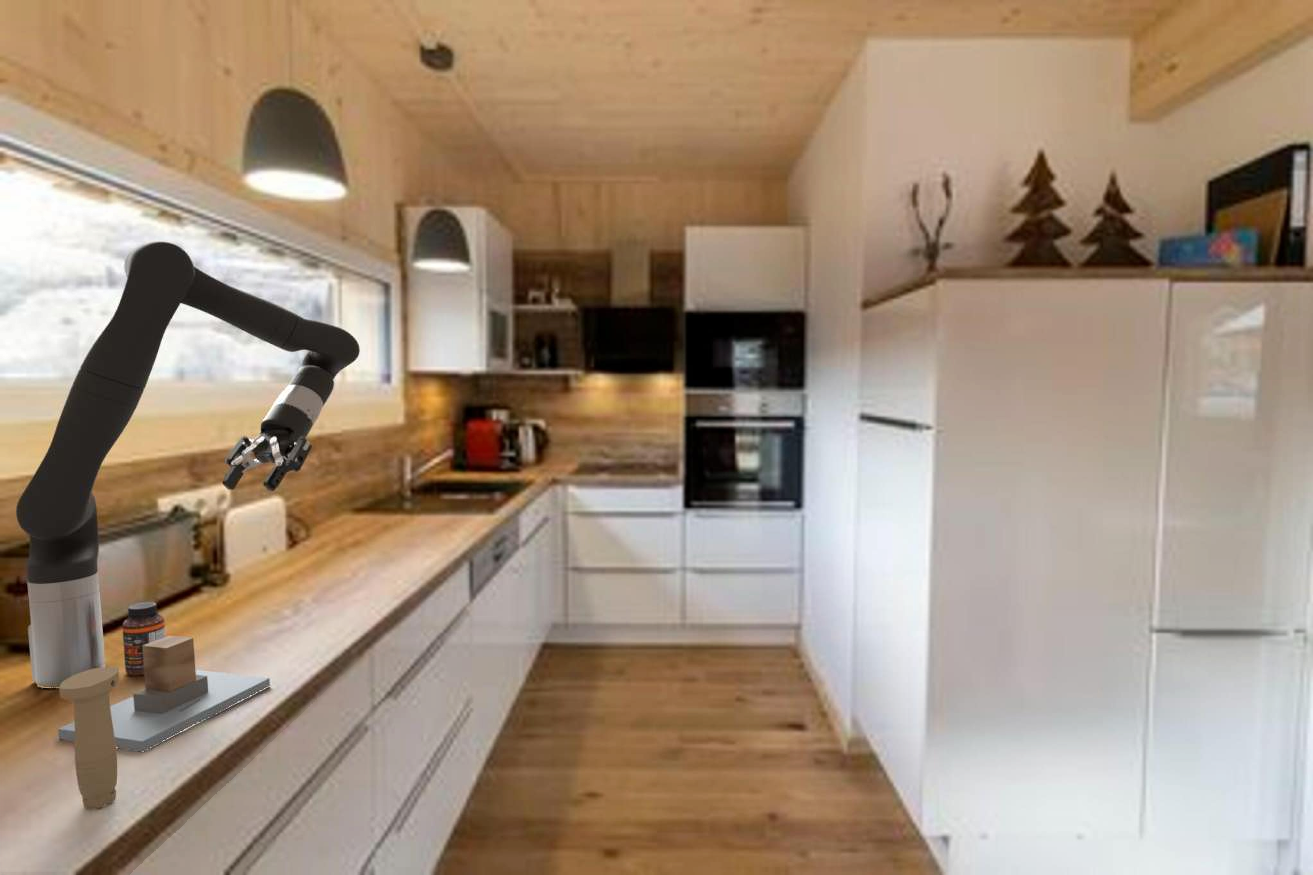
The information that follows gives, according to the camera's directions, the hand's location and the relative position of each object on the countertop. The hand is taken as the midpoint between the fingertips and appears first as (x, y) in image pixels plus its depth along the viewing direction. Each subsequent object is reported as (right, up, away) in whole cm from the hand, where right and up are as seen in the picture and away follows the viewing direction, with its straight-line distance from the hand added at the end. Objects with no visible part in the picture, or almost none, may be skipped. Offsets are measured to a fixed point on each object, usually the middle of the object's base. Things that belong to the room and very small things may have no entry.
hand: (247, 487), depth 131 cm
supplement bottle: (-18, -31, +1) cm, 36 cm away
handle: (+4, -34, -41) cm, 54 cm away
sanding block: (-3, -31, -16) cm, 35 cm away
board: (-3, -32, -16) cm, 36 cm away
